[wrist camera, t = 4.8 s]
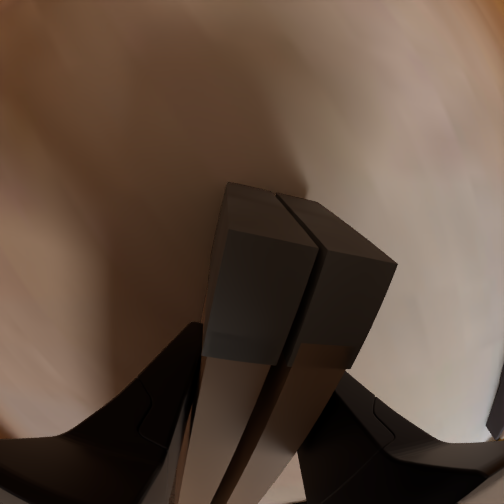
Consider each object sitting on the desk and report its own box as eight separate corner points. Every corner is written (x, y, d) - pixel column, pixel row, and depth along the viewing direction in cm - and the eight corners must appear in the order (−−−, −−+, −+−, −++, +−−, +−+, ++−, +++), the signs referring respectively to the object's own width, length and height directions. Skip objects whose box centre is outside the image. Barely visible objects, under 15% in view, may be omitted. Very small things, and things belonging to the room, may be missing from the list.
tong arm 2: (174, 473, 15) (170, 540, 10) (227, 181, 9) (229, 240, 4) (195, 475, 15) (194, 543, 10) (271, 191, 9) (328, 260, 4)
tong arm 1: (204, 476, 15) (204, 544, 10) (276, 192, 9) (338, 262, 4) (224, 478, 16) (228, 545, 11) (317, 202, 9) (412, 276, 4)
